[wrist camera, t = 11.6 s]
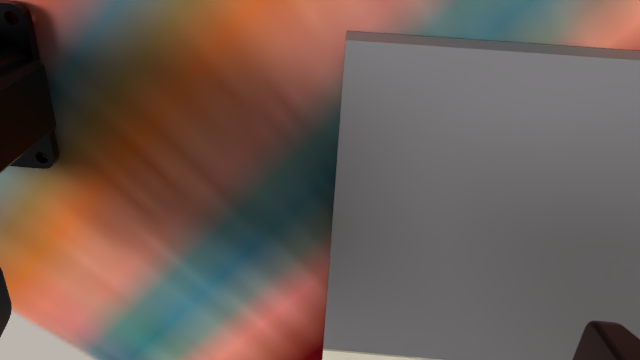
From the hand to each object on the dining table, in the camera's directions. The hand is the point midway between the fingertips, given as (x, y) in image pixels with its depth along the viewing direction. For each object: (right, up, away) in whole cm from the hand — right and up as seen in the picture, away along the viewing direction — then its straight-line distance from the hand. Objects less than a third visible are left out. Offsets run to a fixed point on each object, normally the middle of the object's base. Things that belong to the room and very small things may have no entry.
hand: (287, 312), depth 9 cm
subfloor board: (+9, -2, +15) cm, 18 cm away
